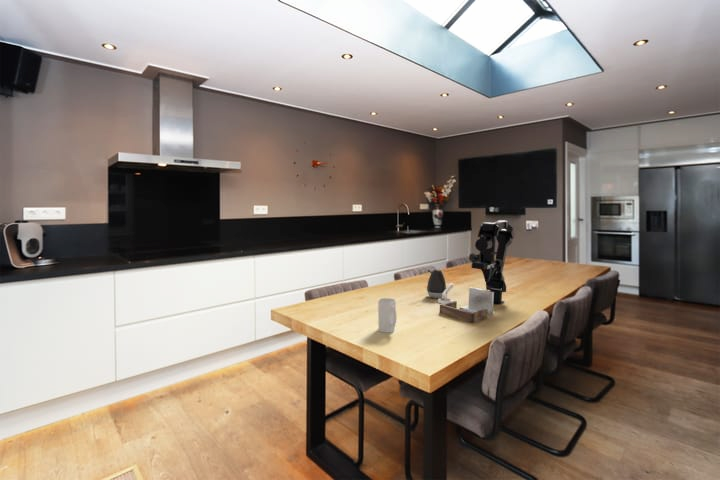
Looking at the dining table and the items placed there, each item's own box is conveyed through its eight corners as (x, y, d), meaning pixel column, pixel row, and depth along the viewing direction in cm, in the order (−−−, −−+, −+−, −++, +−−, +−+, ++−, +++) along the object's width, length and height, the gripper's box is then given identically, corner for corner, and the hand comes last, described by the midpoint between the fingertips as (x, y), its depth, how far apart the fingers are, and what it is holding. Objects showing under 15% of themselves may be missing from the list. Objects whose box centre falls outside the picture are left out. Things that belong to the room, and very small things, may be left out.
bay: (454, 309, 175) (454, 300, 175) (487, 318, 162) (487, 309, 161) (439, 313, 168) (439, 304, 168) (472, 323, 155) (473, 314, 154)
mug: (374, 328, 147) (375, 299, 146) (389, 326, 150) (389, 297, 149) (387, 337, 138) (388, 305, 137) (402, 334, 141) (403, 303, 140)
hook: (464, 294, 182) (454, 287, 181) (449, 312, 185) (438, 305, 183) (459, 287, 189) (449, 280, 188) (444, 305, 192) (434, 298, 190)
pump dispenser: (431, 293, 204) (432, 266, 202) (449, 296, 198) (450, 268, 196) (422, 297, 195) (423, 269, 194) (441, 300, 189) (442, 271, 188)
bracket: (470, 307, 179) (471, 287, 178) (492, 313, 169) (493, 291, 168) (459, 310, 173) (460, 289, 172) (482, 316, 164) (483, 294, 163)
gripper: (483, 246, 185) (482, 276, 187) (462, 248, 173) (460, 281, 175) (504, 248, 177) (502, 280, 179) (483, 251, 165) (481, 285, 167)
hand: (486, 281), depth 175 cm, fingers closed
